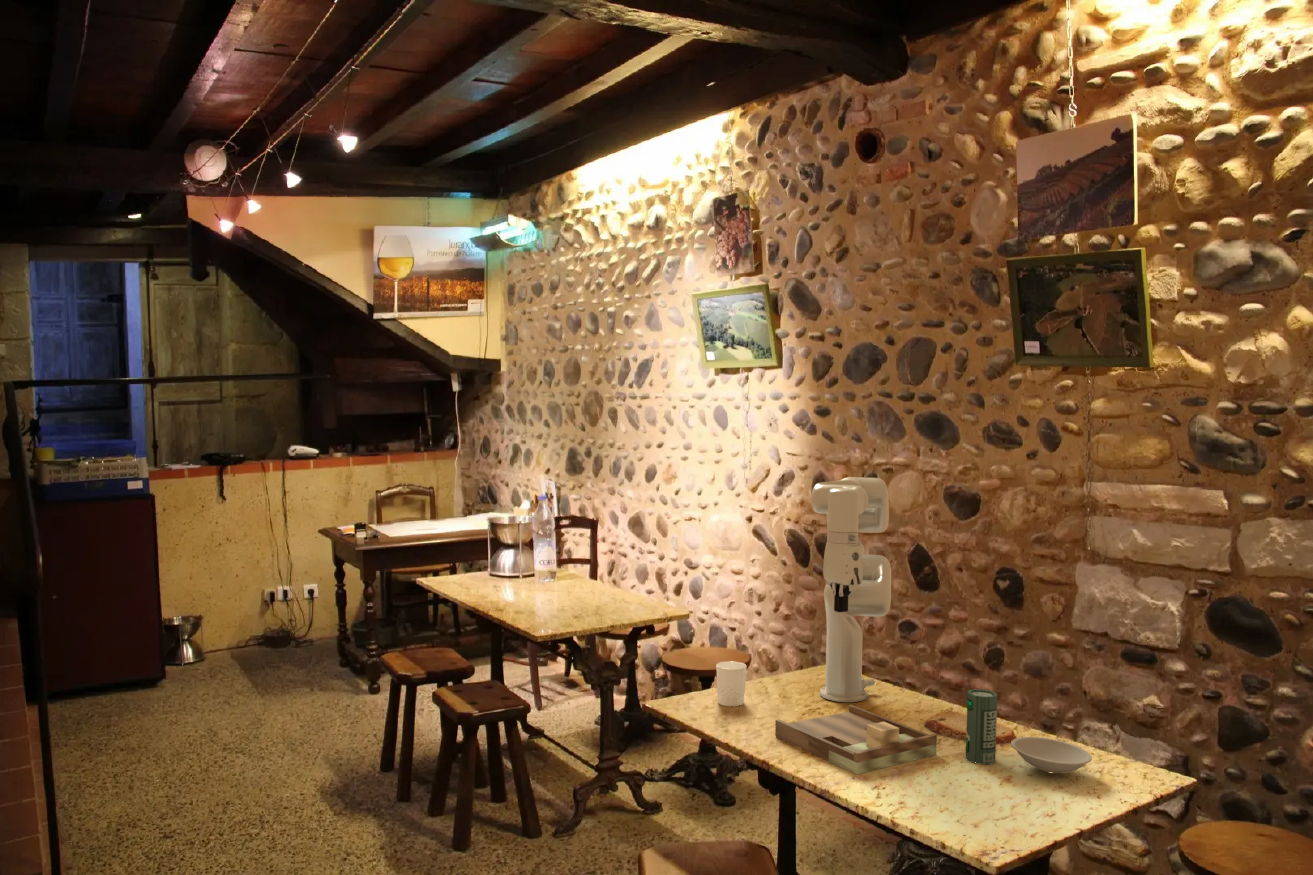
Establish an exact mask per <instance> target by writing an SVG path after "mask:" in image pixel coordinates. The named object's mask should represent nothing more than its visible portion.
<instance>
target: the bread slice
mask: <svg viewBox="0 0 1313 875" xmlns="http://www.w3.org/2000/svg"><path fill="white" fill-rule="evenodd" d="M923 726H924V728H926V729H929V730H931V731H932V732H933V733H936V734H938V735H941V736H945V737H947V738H953V739H956V740H961V741H966V726H967V714H965V713H961V712H958V711H953V710H952V709H951V710H948V711H946V710H945V711H944V710H943V711H941V712H938V713H935V714H934V715H931V716H930V717H929V718H928V719H926V721H925V722H924V725H923ZM1016 738H1017V736H1016V734H1015V732H1014V730H1013V729H1012V728H1011V726H1010V727H1009V726H1006V725H1004V724H1001V723H998V722H997V724H996V744H1007V743H1006V742H1010V743H1011V741H1012V740H1014V739H1016Z"/></svg>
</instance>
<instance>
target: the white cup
mask: <svg viewBox="0 0 1313 875" xmlns="http://www.w3.org/2000/svg"><path fill="white" fill-rule="evenodd" d="M715 666H716V693H717V703H718V704H719V705H721V706H724V707H731V706H733V707H739V705H740V706H742V705H744V704H743V703H745V694H746V681H747V678H746V677H747V665H746V664H745V663H744V662H739V661H731V660H730V661H720V662H717V664H716V665H715Z"/></svg>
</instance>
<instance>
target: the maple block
mask: <svg viewBox="0 0 1313 875" xmlns="http://www.w3.org/2000/svg"><path fill="white" fill-rule="evenodd" d="M897 742H899V728H898V727H895V726H893V725H891V724H888V723H886V722H880V723H874V724H869V725H867V739H866V747H868V748H875V747H879V746H883V745H888V744H892V743H897Z"/></svg>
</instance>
